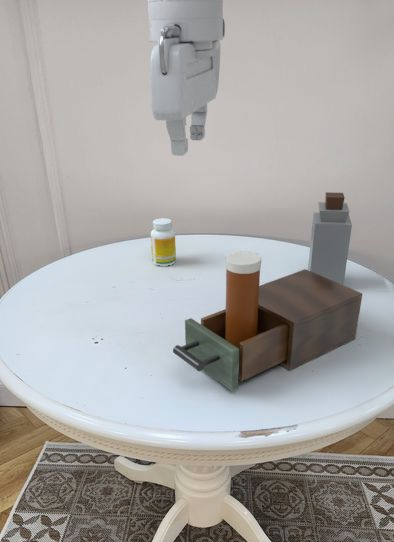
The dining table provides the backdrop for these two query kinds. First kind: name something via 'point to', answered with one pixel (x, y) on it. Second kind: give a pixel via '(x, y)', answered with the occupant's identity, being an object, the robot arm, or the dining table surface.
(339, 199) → the perfume bottle
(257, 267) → the pill bottle
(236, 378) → the drawer
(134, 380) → the dining table surface
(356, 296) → the cabinet
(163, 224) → the supplement bottle
